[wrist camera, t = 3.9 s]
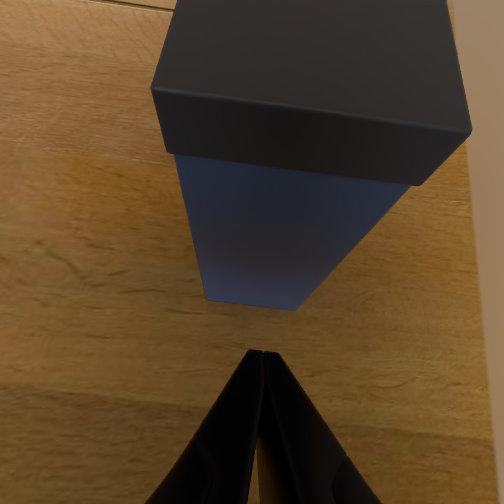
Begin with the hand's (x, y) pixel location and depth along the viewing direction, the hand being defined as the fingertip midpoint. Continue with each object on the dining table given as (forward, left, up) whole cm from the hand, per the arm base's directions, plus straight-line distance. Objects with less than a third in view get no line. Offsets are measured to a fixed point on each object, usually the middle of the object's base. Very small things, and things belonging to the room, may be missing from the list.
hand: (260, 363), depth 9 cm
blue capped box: (+6, -2, -8) cm, 10 cm away
